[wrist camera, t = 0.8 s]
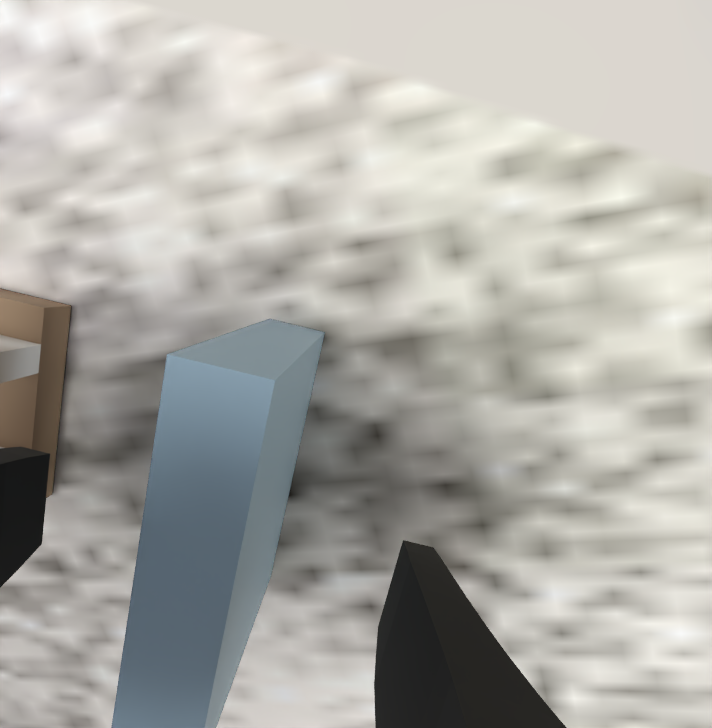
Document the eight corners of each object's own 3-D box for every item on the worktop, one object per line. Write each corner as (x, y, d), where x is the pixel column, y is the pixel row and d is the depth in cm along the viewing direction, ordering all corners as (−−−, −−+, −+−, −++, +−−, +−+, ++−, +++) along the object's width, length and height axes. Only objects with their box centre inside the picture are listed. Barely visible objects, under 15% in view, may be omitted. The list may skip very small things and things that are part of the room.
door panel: (271, 575, 14) (189, 799, 8) (222, 563, 14) (103, 778, 8) (325, 332, 12) (275, 379, 6) (270, 318, 12) (167, 354, 6)
